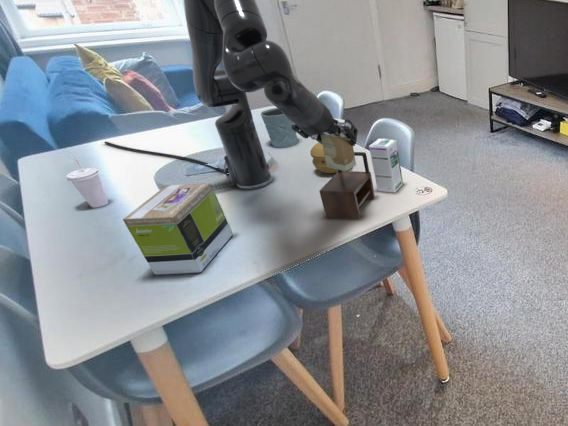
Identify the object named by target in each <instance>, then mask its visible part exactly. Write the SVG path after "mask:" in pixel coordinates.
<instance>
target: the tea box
mask: <svg viewBox="0 0 568 426" xmlns="http://www.w3.org/2000/svg"><path fill="white" fill-rule="evenodd" d="M122 221H123V222H124V224H125V227H126V228H127V230H128V232H129V233H130V235H131V237H132V238H133V240H134V242H135V244H136V245H137V247H138V248H139V250H140V252H141V254H142V255H143V257H144V259H145V261H146V262H147V264H148V266H149V268H150V269H151V271H152V272H153V274H154V275H158V276H159V275H176V274H177V275H178V274H180V275H181V274H194V273H195V274H196V273H197V274H198V273H202V272H203V271H204V269H205V268H206V267H207V266H208V264H209V263H210V262H211V261H212V259H213V258H214V257H216V255H217V254H218V253H219V251H220V250H221V249H222V248H223V247H224V246H225V244H226V243H227V242H228V241H229V240H230V238H231V237H232V236H233V235H234V233H233V230H232V229H231V226H230V224H229V222H228V220H227V217H226V214H225V212H224V210H223V208H222V205H221V203H220V201H219V199H218V196H217V195H216V192H215V190H214V188H213V185H212V183H211V182H208V183H207V182H205V183H204V182H203V183H188V184H165V186H163V187H162V188H161V189H160V190H158V191H157V192H156V193H154V194H153V195H152V196H151V197H150V198H148V199H147V200H145V201H144V202H143V203H142V204H140V205H139V206H138V207H136V208H135V209H134V210H133V211H131V212H130V213H129V214H127V215H126V216H124V217H123V218H122Z"/></svg>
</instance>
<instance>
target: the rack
mask: <svg viewBox="0 0 568 426" xmlns="http://www.w3.org/2000/svg"><path fill="white" fill-rule="evenodd" d="M354 155H355V157H362V160H363V161H362V162H363V166H364V171H355V170H354V171H353V170H347V171H342V170H338V172H337V173H334V175H333V176H332V177H331V179H329V180H328V181H327V182H326V183H325V184H324V185H323V186H322V188H321V189H320V190H319V195H320V199H321V204H322V207H323V211H324V215H325V218H328V219H349V220H351V219H353V220H360V218H361V212H360V207H361V206H362V205H363V203H364V202H365V200H366V199H370V200H374V199H375V198H376V195H375V189H374V183H373V178H372V174H371V173H372V172H371V171H370V167H369V162H368V161H369V160H368V157H367V153H366V152H365V151H364V152H363V151H354Z"/></svg>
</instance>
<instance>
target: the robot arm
mask: <svg viewBox="0 0 568 426" xmlns="http://www.w3.org/2000/svg"><path fill="white" fill-rule="evenodd" d="M183 6H184V16H185V22H186V28H187V34H188V38H189V43H190V48H191V49H190V50H191V55H192V58H191V59H192V83H193V88H194V92H195V94H196V97H197V100H198V101H199V102H200V103H201V104H202V105H203V106H204V107H206V108H211V109H214V108H221V107H226V106H231V107H230V108H229V110H228V111H226V113H224V114H223V115H221V116H219V117H218V118H217V119H216V120H215V122H214V124H215V128H216V131H217V133H218V137H219V139H220V142H221V144H222V146H223V150H224V152H225V155H224V156H223V159H224V161H225V162H224V163H225V165H226V168H224V169H223V168H220V167H219V166H217V167H218V168H214V169H215V170H217V171H219V172H220V173H222V174H224V175H225V176H229V175H230V178H231V181H232V184H233V186H234V187H237V188H238V189H241V190H255V189H259V188H262V187H265V186H267V185H269V184H270V183H271V182H272V181H273V178H272V174H271V172H270V167H269V164H268V162H267V159H266V156H265V152H264V150H263V147H262V143H261V140H260V138H259V135H258V131H257V128H256V125H255V121H254V118H253V117H254V116H253V113H252V109H251V106H250V102H249V99H248V95H247V93H255V92H258V91H260V90H262V89H263V93H264V96H265V98H266V99H267V100H268V102H270V103H271V104H272V105H273V106H274V107H275V108H278V109H279V110H280V111H282V112H283V113H284V115H285V116H286V117H287V118H288V119H289V120H290V121H292V127H291V128H292V129H293V130H294V131H295V132H296V134H298V135H299V136H301V138H303V139H309V138H310V139H311V140H314V141H317V143H321V144H322V140H321V136H320V134H321V135H330V136H333V137H335V138H338V139H340V138H343V139H345V140H346V141H347V142H348V143H349V144H350V145H351V146H353V147H355V146H356V145H357V141H358V132H359V129H358V128H357V126H356V125H354V123H353V122H352V121H351V120H350V119H344V120H345V123H342V122H338V121H337V120H335V119H334V118H335V117H333V115H332V112H331V110H330V109H329V108H328V107H327V106H326V104H324V103H323V101H322V100H321V99H320V98H319V97H318V96H317V95H316V94H315V93H313V92H312V91H311V90H310V89H308V88H307V87H306V86H305V85H304V84H303V83H302V81H300V79H299V78H298V76H297V75H296V74H295V71H294V70H293V67H292V64H291V62H290V59H289V57H288V55H287V53H286V51H285V49H284V48H283V47H282V46H281V45H280V44H278V43H277V42H274V41H273V40H268V31H267V27H266V25H265V22H264V19H263V17H262V14H261V12H260V9H259V6H258V4H257V1H256V0H183ZM221 62H222V65H223V66H222V67H223V68H220V69H217V68H218V67H219V65H220V64H221ZM337 130H338V134H336V132H337ZM343 132H346V136H345V135H344V134H343ZM104 144H105V145H109V146H111V147H114V148H118V149H122V150H128V151H133V152H137V153H143V154H151V155H157V156H162V157H169V158H175V159H180V160H186V161H190V162H194V163H197V164H201V165H204V164H208V162H205V161H202V160H198V159H195V158H190V157H186V156H181V155H176V154H170V153H163V152H157V151H151V150H145V149H140V148H139V149H137V148H132V147H128V146H124V145H119V144H115V143H113V142H109V141H104ZM227 173H229V174H227Z"/></svg>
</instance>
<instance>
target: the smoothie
mask: <svg viewBox="0 0 568 426" xmlns="http://www.w3.org/2000/svg"><path fill="white" fill-rule="evenodd" d="M73 158H74V159H75V161H76V163H77V165H78V167H79V169H76V170H74V171H73V170H72V171H71V172H69V173H68V174H66V175H65V178H66V180H67V181H68V182H71V184H72V185H73V186H74V188H75V189H76V190H77V191H78V192H79V194H80V195H81V196H82V197H83V199H84V200H85V202H87V204H88V205H89V206H90V208H93V209H97V208H102V207H105V206H106V205H108V204H109V200H108V196H107V195H106V191H105V189H104V185H103V183H102V181H101V177H100V175H99V174H100V171H99V170H98V168H95V167H86V168H85V167H83V164H82V163H81V161H80V160H79V158H78V156H73Z"/></svg>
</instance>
